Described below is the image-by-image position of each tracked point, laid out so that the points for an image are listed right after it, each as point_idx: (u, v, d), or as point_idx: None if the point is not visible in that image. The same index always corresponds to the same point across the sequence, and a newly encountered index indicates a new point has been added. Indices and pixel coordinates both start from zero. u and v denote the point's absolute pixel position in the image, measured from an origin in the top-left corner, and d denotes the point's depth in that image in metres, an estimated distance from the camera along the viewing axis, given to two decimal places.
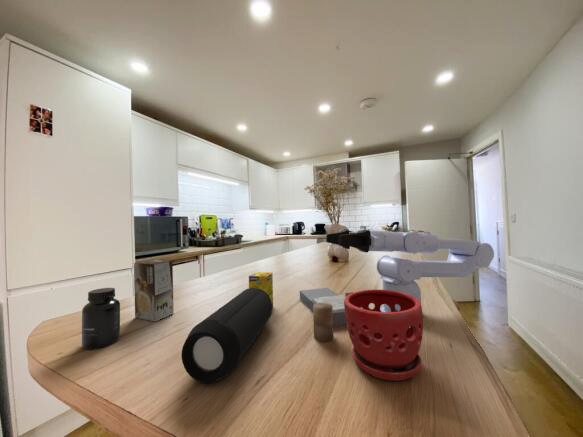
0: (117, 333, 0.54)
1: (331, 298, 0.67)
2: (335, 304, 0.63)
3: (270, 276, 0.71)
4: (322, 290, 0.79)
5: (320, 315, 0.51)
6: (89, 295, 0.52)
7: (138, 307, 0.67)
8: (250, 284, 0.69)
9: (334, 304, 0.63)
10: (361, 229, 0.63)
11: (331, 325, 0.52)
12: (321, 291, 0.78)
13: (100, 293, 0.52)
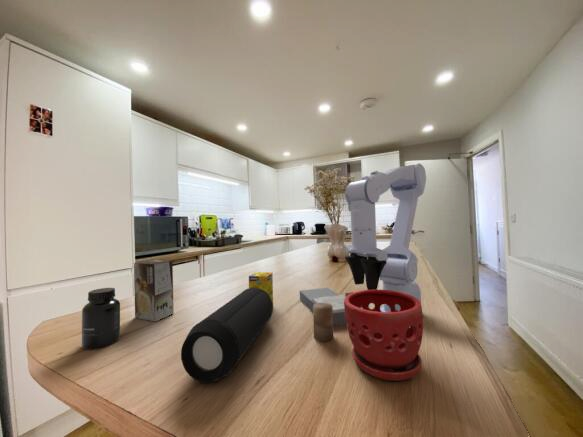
0: (117, 333, 0.54)
1: (331, 298, 0.67)
2: (335, 304, 0.63)
3: (270, 276, 0.71)
4: (322, 290, 0.79)
5: (319, 315, 0.51)
6: (89, 295, 0.52)
7: (138, 307, 0.67)
8: (250, 284, 0.69)
9: (334, 304, 0.63)
10: (353, 252, 0.55)
11: (331, 325, 0.52)
12: (321, 291, 0.78)
13: (100, 293, 0.52)
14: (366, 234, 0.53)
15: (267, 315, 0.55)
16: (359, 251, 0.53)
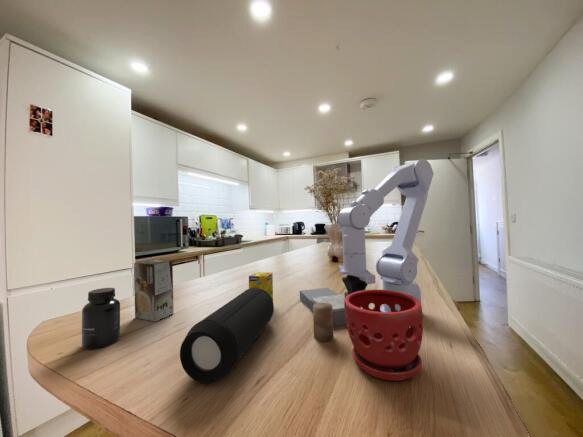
0: (117, 333, 0.54)
1: (330, 298, 0.68)
2: (334, 303, 0.63)
3: (270, 276, 0.71)
4: (322, 290, 0.79)
5: (319, 315, 0.51)
6: (89, 295, 0.52)
7: (138, 307, 0.67)
8: (250, 284, 0.69)
9: (333, 303, 0.63)
10: None
11: (331, 325, 0.52)
12: (321, 291, 0.78)
13: (100, 293, 0.52)
14: (356, 258, 0.57)
15: (268, 315, 0.54)
16: (350, 273, 0.58)
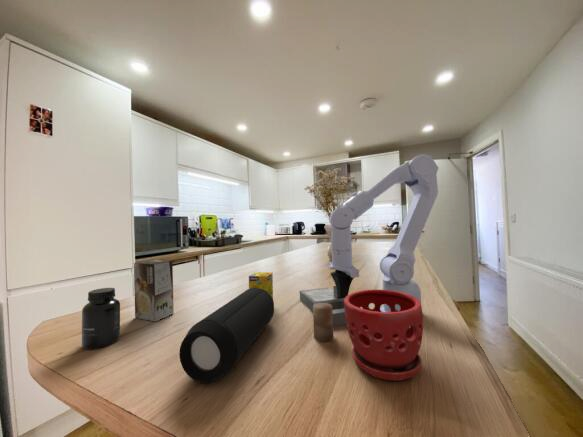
0: (117, 333, 0.54)
1: (321, 291, 0.75)
2: (324, 296, 0.70)
3: (270, 276, 0.71)
4: None
5: (320, 315, 0.51)
6: (89, 295, 0.52)
7: (138, 307, 0.67)
8: (250, 284, 0.69)
9: (323, 296, 0.70)
10: None
11: (331, 325, 0.52)
12: None
13: (100, 293, 0.52)
14: (343, 254, 0.64)
15: (268, 315, 0.54)
16: (337, 268, 0.64)
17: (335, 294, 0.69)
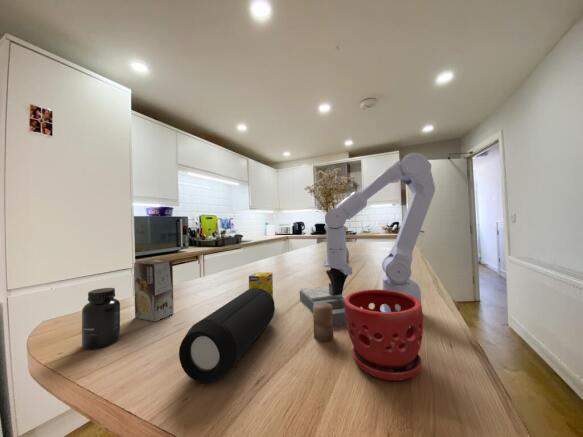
0: (117, 333, 0.54)
1: (317, 289, 0.78)
2: (320, 293, 0.73)
3: (270, 276, 0.71)
4: None
5: (320, 315, 0.51)
6: (89, 295, 0.52)
7: (138, 307, 0.67)
8: (250, 284, 0.69)
9: (319, 293, 0.73)
10: None
11: (331, 325, 0.52)
12: None
13: (100, 293, 0.52)
14: (337, 253, 0.67)
15: (268, 316, 0.54)
16: (332, 266, 0.67)
17: (330, 291, 0.72)
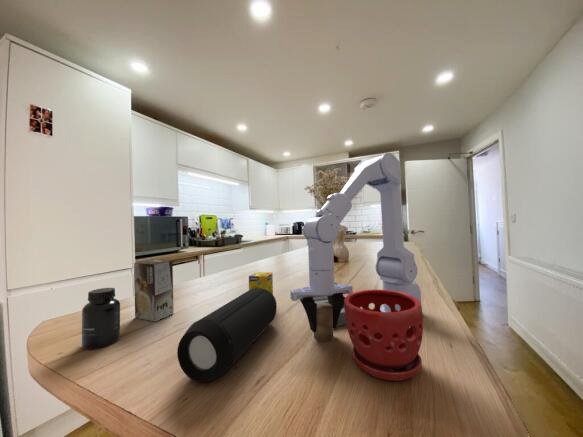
0: (117, 333, 0.54)
1: None
2: None
3: (270, 276, 0.71)
4: None
5: (322, 315, 0.51)
6: (89, 295, 0.52)
7: (138, 307, 0.67)
8: (250, 284, 0.69)
9: None
10: None
11: (332, 324, 0.52)
12: None
13: (100, 293, 0.52)
14: (309, 273, 0.53)
15: (269, 316, 0.54)
16: None
17: None
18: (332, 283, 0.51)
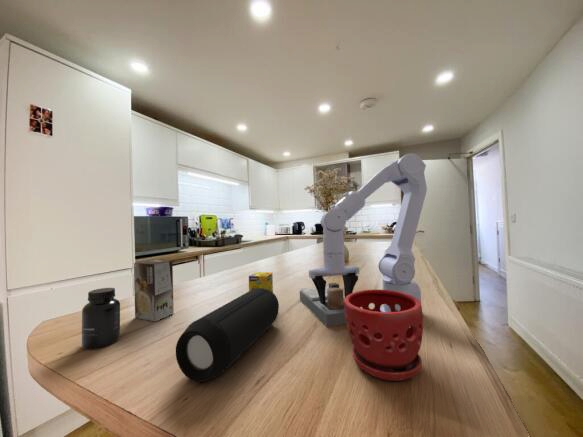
0: (117, 333, 0.54)
1: None
2: None
3: (270, 276, 0.71)
4: None
5: (334, 296, 0.63)
6: (89, 295, 0.52)
7: (138, 307, 0.67)
8: (250, 284, 0.69)
9: None
10: None
11: (343, 304, 0.64)
12: None
13: (100, 293, 0.52)
14: None
15: (270, 317, 0.54)
16: None
17: None
18: (343, 264, 0.63)
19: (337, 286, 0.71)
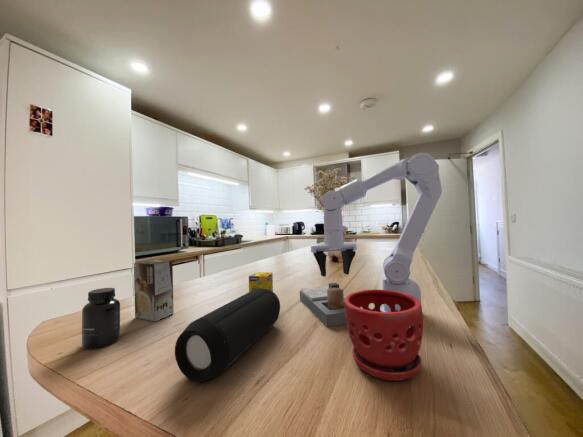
0: (117, 333, 0.54)
1: (317, 289, 0.78)
2: (320, 293, 0.73)
3: (270, 276, 0.71)
4: None
5: (334, 296, 0.63)
6: (89, 295, 0.52)
7: (138, 307, 0.67)
8: (250, 284, 0.69)
9: (319, 293, 0.73)
10: None
11: (343, 304, 0.64)
12: None
13: (100, 293, 0.52)
14: (324, 234, 0.72)
15: (271, 317, 0.53)
16: None
17: None
18: (341, 240, 0.70)
19: (337, 286, 0.71)
